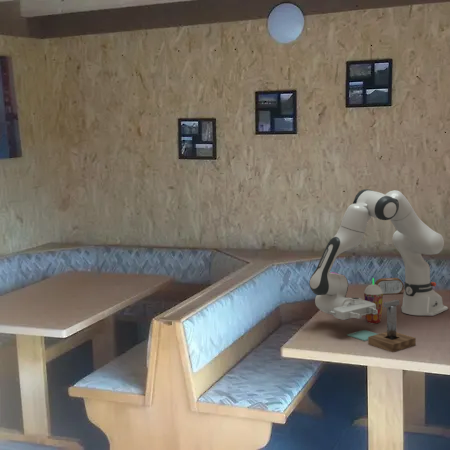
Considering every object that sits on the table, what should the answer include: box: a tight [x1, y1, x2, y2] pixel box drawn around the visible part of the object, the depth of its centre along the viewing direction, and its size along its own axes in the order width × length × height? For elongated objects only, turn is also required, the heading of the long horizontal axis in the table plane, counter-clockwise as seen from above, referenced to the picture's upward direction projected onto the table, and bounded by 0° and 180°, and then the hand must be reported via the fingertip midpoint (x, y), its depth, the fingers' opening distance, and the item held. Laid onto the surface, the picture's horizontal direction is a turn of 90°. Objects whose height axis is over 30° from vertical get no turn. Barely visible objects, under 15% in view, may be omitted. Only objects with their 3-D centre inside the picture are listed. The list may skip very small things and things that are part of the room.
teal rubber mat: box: [346, 329, 378, 342], centre depth 278 cm, size 10×10×1 cm
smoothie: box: [363, 277, 384, 324], centre depth 296 cm, size 8×8×20 cm
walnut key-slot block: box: [367, 331, 417, 353], centre depth 265 cm, size 13×13×3 cm
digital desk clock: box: [374, 277, 404, 296], centre depth 346 cm, size 15×3×8 cm, turn 93°
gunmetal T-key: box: [383, 299, 400, 340], centre depth 264 cm, size 7×4×18 cm, turn 124°
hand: (368, 314), depth 274 cm, fingers open, 8 cm apart
